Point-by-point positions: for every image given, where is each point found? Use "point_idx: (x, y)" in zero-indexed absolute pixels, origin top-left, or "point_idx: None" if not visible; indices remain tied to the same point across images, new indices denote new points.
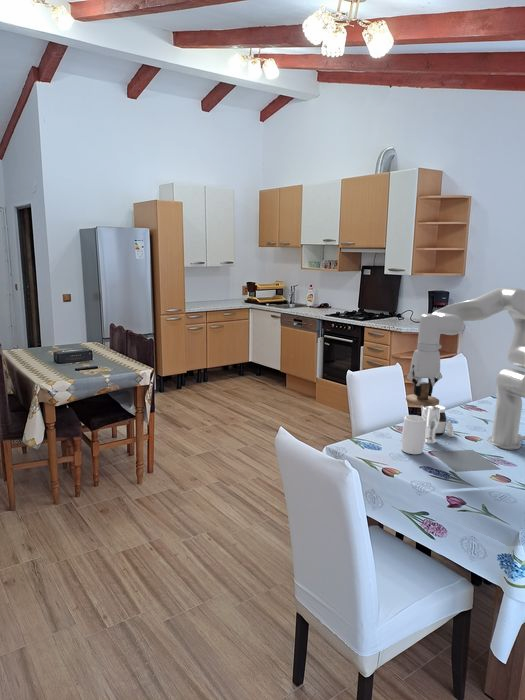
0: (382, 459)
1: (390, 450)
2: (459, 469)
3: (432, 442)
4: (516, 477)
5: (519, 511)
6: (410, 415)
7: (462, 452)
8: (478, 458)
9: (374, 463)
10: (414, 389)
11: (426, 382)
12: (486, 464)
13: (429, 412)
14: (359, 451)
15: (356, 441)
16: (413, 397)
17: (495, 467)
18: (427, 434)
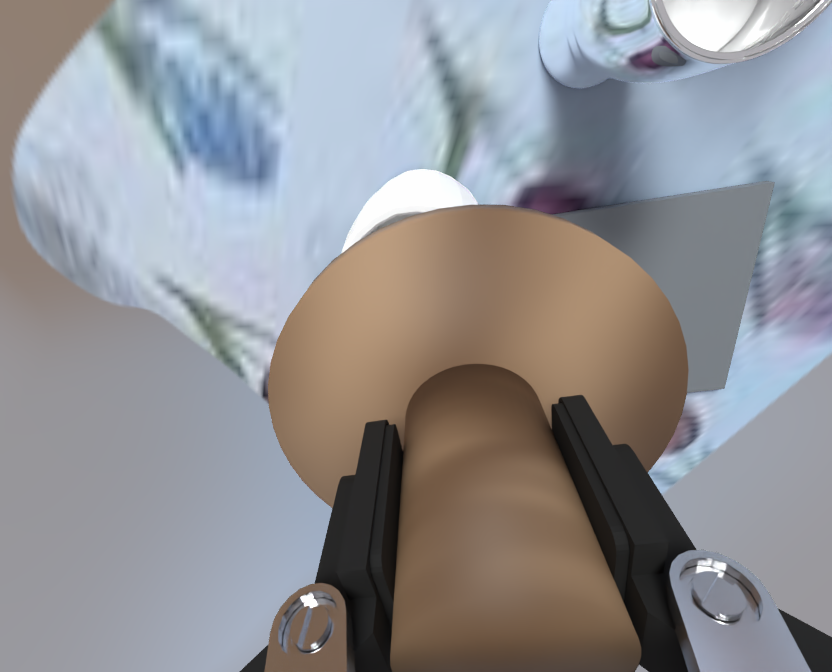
0: (272, 298)
1: (322, 189)
2: None
3: (597, 82)
4: (734, 424)
5: None
6: (401, 214)
7: (686, 226)
8: (713, 295)
9: (237, 336)
10: (334, 524)
11: (614, 621)
12: (699, 351)
13: (658, 54)
14: (165, 212)
15: (132, 49)
16: (367, 386)
17: (714, 376)
18: (581, 67)
